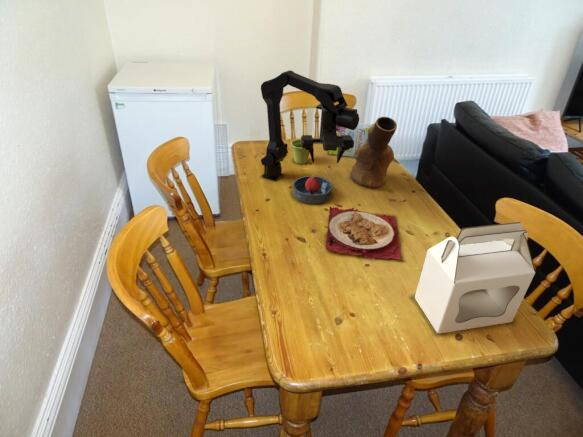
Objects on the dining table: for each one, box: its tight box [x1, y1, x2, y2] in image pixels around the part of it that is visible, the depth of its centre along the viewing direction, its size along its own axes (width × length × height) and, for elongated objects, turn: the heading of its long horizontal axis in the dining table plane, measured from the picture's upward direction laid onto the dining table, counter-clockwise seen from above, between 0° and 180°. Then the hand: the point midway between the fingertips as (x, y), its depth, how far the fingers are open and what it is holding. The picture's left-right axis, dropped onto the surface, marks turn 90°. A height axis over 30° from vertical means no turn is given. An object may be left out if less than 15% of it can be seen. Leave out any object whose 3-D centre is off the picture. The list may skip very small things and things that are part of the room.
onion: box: [305, 175, 320, 194], centre depth 158 cm, size 6×6×8 cm
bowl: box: [292, 175, 333, 205], centre depth 160 cm, size 15×15×4 cm
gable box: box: [414, 221, 536, 334], centre depth 104 cm, size 22×13×28 cm, turn 102°
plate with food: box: [325, 203, 402, 260], centre depth 139 cm, size 24×26×4 cm
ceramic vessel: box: [350, 116, 398, 189], centre depth 161 cm, size 16×22×30 cm
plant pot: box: [290, 138, 310, 165], centre depth 182 cm, size 9×9×9 cm
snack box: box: [328, 122, 373, 158], centre depth 188 cm, size 21×6×15 cm, turn 77°
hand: (325, 162), depth 153 cm, fingers open, 9 cm apart
